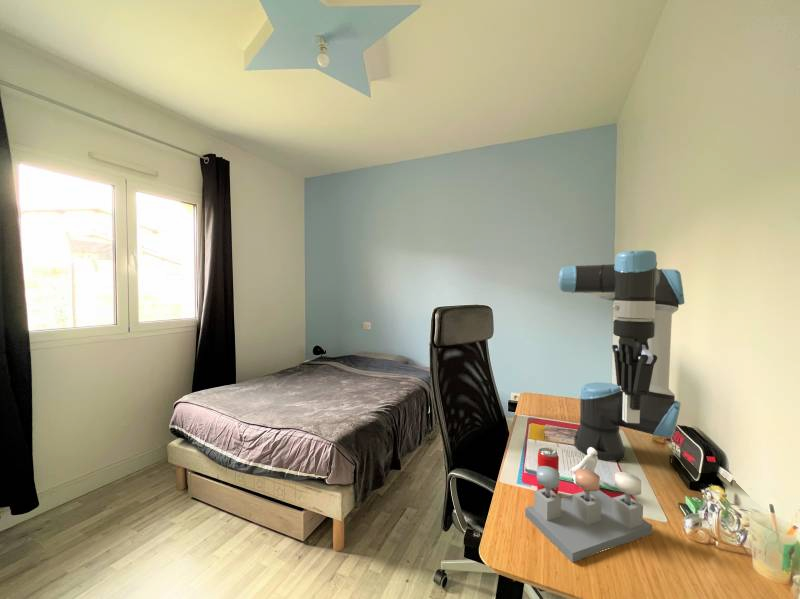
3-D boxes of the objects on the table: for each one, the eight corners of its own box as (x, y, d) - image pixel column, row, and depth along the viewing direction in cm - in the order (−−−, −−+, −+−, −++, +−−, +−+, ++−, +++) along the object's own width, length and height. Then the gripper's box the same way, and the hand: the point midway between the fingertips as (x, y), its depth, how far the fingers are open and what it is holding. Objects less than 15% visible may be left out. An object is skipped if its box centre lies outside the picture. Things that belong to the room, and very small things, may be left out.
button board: (596, 495, 85) (597, 472, 85) (652, 533, 72) (652, 506, 72) (525, 515, 78) (525, 490, 77) (572, 562, 64) (573, 532, 64)
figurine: (585, 495, 85) (586, 452, 85) (562, 478, 93) (563, 439, 92) (606, 489, 88) (607, 448, 87) (581, 473, 95) (582, 435, 95)
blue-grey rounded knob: (547, 490, 79) (548, 464, 79) (563, 503, 74) (564, 475, 74) (531, 495, 77) (532, 468, 77) (547, 508, 73) (547, 479, 72)
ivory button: (624, 497, 76) (625, 470, 76) (645, 511, 72) (646, 482, 71) (609, 502, 75) (610, 474, 75) (630, 516, 70) (631, 486, 70)
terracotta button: (585, 494, 78) (586, 467, 77) (604, 507, 73) (604, 478, 73) (570, 498, 76) (570, 471, 76) (588, 512, 71) (588, 483, 71)
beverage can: (560, 502, 82) (561, 458, 82) (539, 499, 83) (540, 456, 83) (554, 489, 88) (555, 448, 87) (535, 487, 89) (535, 446, 88)
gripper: (601, 316, 78) (599, 409, 78) (632, 322, 64) (629, 433, 65) (634, 317, 76) (631, 411, 77) (673, 322, 63) (669, 436, 64)
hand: (630, 421), depth 71 cm, fingers closed
